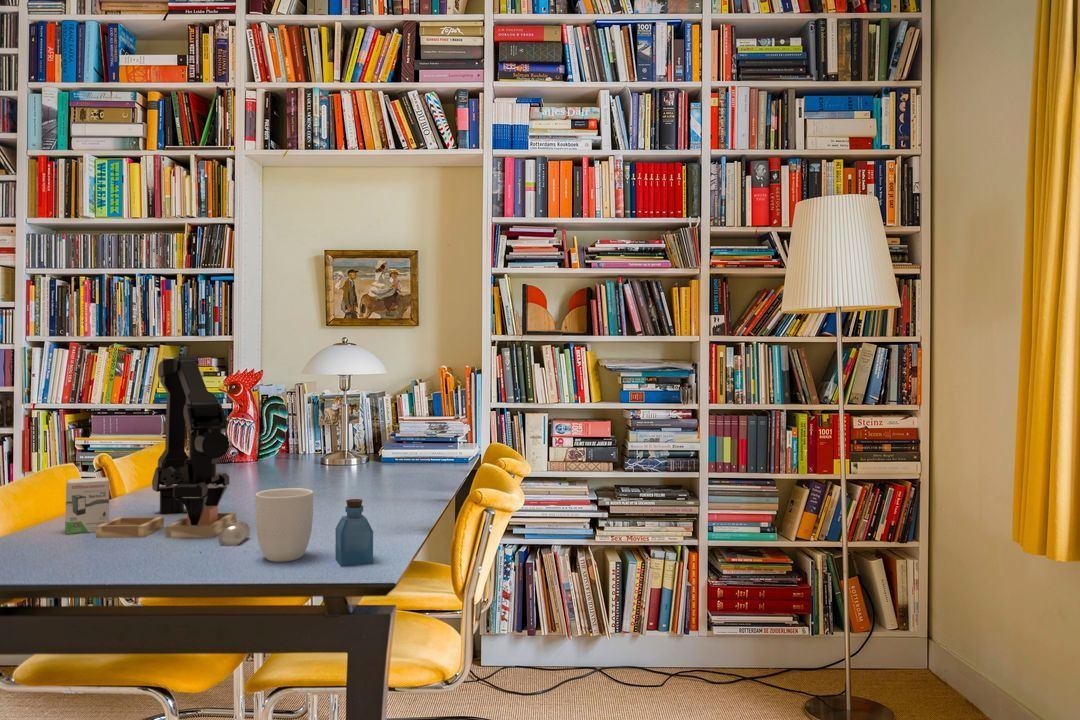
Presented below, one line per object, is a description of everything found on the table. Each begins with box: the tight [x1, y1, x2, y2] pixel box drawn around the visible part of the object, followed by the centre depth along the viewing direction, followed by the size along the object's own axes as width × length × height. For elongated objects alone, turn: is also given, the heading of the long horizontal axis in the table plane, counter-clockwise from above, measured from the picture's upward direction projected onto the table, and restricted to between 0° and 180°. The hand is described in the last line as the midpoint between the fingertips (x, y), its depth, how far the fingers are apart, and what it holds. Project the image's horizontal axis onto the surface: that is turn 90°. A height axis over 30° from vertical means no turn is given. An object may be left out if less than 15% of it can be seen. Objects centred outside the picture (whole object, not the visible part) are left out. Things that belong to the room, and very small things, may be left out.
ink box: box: [64, 476, 110, 535], centre depth 181 cm, size 9×5×12 cm, turn 123°
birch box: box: [164, 512, 237, 539], centre depth 179 cm, size 15×10×3 cm
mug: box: [254, 487, 314, 563], centre depth 158 cm, size 15×11×13 cm
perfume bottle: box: [334, 498, 374, 567], centre depth 155 cm, size 6×6×12 cm
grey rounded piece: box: [217, 520, 251, 547], centre depth 168 cm, size 7×4×4 cm
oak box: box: [95, 516, 165, 539], centre depth 176 cm, size 10×10×3 cm
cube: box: [186, 505, 219, 525], centre depth 179 cm, size 5×5×5 cm
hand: (202, 522), depth 179 cm, fingers open, 9 cm apart
